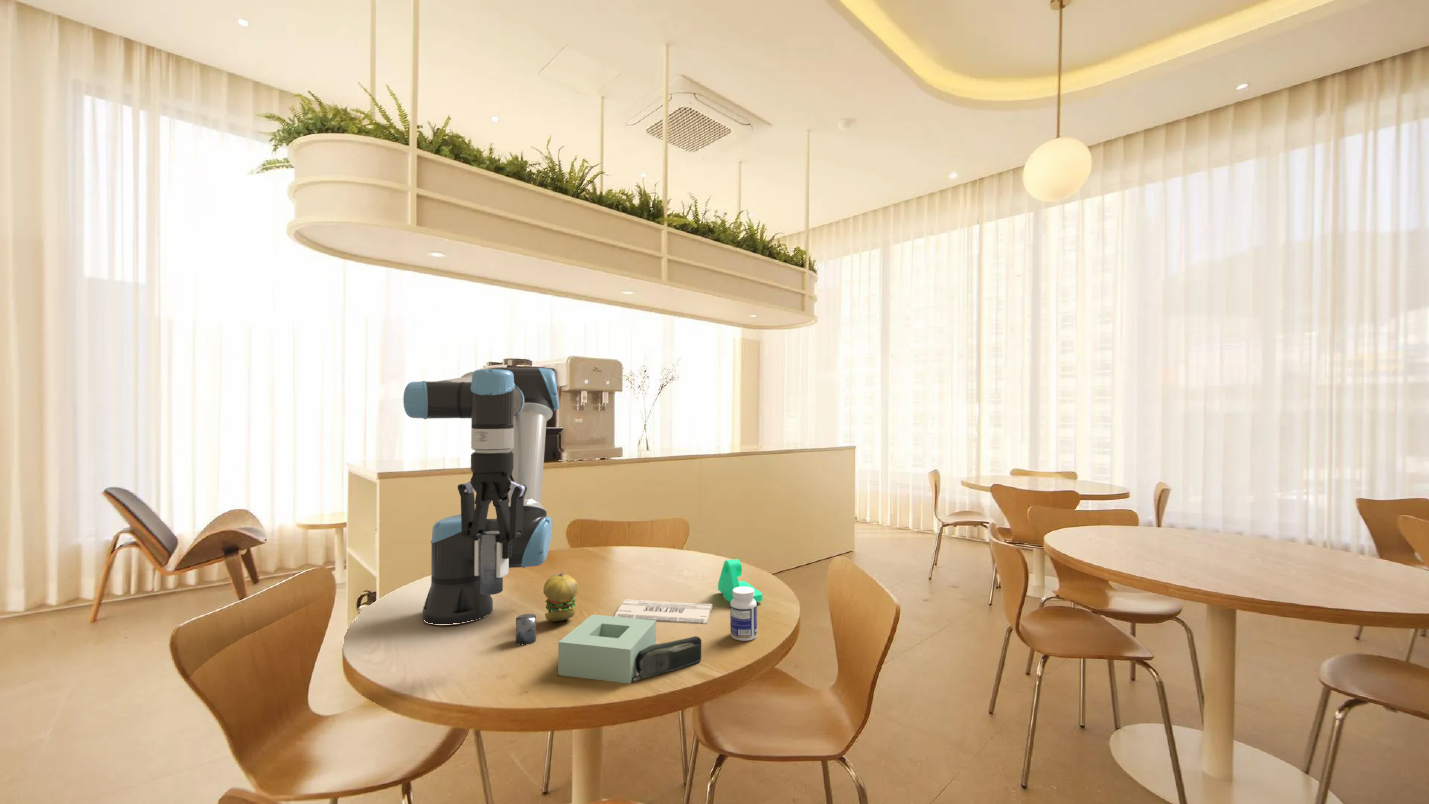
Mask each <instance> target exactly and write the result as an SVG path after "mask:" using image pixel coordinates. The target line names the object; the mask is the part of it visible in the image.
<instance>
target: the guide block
mask: <svg viewBox="0 0 1429 804" xmlns="http://www.w3.org/2000/svg"><path fill="white" fill-rule="evenodd" d="M614 616H615V615H614ZM614 616H613V615H611V616H610V615H601V614H591V615H590V616H588V617H587V618H586V619H585V620H583V622H581V623H579V625H577V627H575V628H573V630H571V631H570V632H569V633H568V634H566V635H565V636H564V637H562V639H560V640H559V641H558V644H557V645H558V646H557V647H558V648H557V649H558V653H557V655H558V656H557V657H558V659H557V661H558V662H557V664H558V667H557V668H558V670H557V672H558V673H557V674H558V676H563V677H572V678H579V679H588V680H589V679H590V680H596V681H597V680H598V681H605V682H613V683H623V684H630V685H631V684H632V682H633V681H632V678H634V677H637V676H638V672H637V670H636V657H637V654H638V653H639V652H640V651H641V650H643V649H645V648H647V647H648V646H651V645H655V644H657V621H656V620H646V619H635V618H624V617H614Z"/></svg>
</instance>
